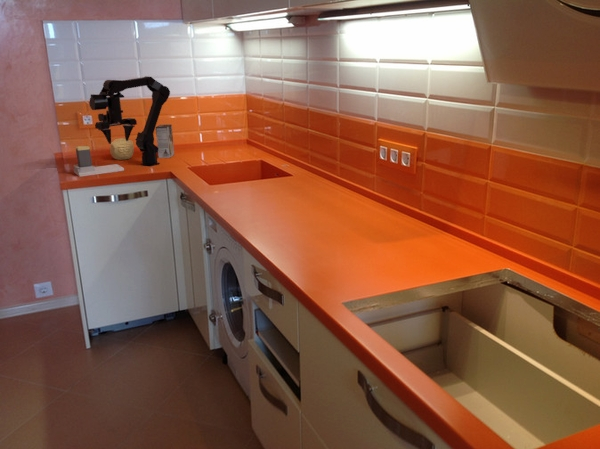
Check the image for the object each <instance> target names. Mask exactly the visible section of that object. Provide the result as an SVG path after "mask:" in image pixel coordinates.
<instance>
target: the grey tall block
mask: <svg viewBox="0 0 600 449" xmlns="http://www.w3.org/2000/svg"><path fill="white" fill-rule="evenodd" d="M75 152H76V154H75V155H76V159H77V160H76V161H77V165H78V166H79V167H80V168H81V167H88V166H93V163H92V154H91V147H90V146H88V145H79V146H75Z"/></svg>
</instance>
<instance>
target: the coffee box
mask: <svg viewBox="0 0 600 449" xmlns="http://www.w3.org/2000/svg"><path fill="white" fill-rule="evenodd" d="M155 135H156V146H157V147H158V148H159V149H158V152H157V157H158V159H168V158H171V157H173V156H174V155H175V148H174V138H173V137H174V136H173V126H172V124H159V125H158V126H157V125H156V127H155Z"/></svg>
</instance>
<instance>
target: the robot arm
mask: <svg viewBox="0 0 600 449" xmlns="http://www.w3.org/2000/svg"><path fill="white" fill-rule="evenodd" d="M102 86H103V87H102V89H100V92H99V94H94V93H93V94H90V98H89V102H88V103H89V107H90V109H91V110H92V111H99V110H106V114H104V113H98V114H97V118H98V122H97V121H96V122H95V124H94V127H95V130H98V131H101V132H102V134H103V135H104V136H105V139H106V141H107V142H108V144H110V145H111V142H112V130H111V127H116V126H122V128H123V129H124V138H125V139H126V141H128V140H130V139H129V138H130V136H131V133H132V130H133V128H135V126H136V125H138V122H137V119H136V118H131V117H126V118H123V114H122V113H124V110H122V104H121V99H122V98H123V99H124V98H125V95H124V94H122V93H121V92H123V91H125V90H127V89H132V88H140V87H147V89H148V90H149V91H151V92H152V93H151V101H152V103H151V105H150V109H149V113H148V115H147V119H146V122H145V125H144V127H143V130H142V131H141V132H137V136H136V138H135V139H134V140H135V145H136V147H137V148H138V149H139V150H140V152H141V165H143V166H147V167H151V166H155V165H159V164H160V162H158V149H159V148H158V147H157V145H155V143H154V142H155V137H154V133H155V131H156V128H155V127H157V124H158V120H159V116H160V113H161V111H162V109H163V108H162V107H163V106H164V104H165V103H166V102H167V101H168V99H169V97H170V95H171V91H170V88H169V87H168V86H165V85H164V84H162V83H160V82H159V81H158V80H156V79H155V78H153V77H152V76H144V77H135V78H130V79H122V80H120V79H117V80H116V79H106V80H104V82H103V84H102Z"/></svg>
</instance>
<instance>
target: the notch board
mask: <svg viewBox="0 0 600 449" xmlns="http://www.w3.org/2000/svg"><path fill="white" fill-rule="evenodd" d="M123 171H125V168H124V167H122V166H121V165H119V164H117V163H116V164H108V165H100V166H95V165H92V166H88V167H81V168H80V167H79V166H78V164H73V173H75V174H76V176H78V177H80V178H81V177H86V176H87V177H88V176H94V175H100V174H109V173H110V174H111V173H117V172H123Z"/></svg>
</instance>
